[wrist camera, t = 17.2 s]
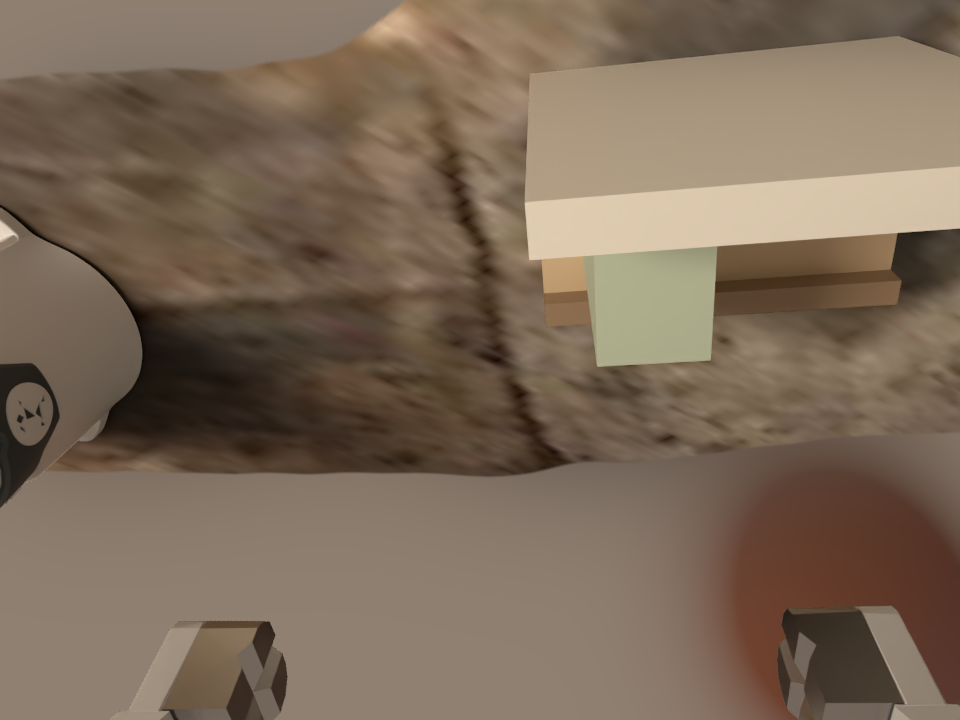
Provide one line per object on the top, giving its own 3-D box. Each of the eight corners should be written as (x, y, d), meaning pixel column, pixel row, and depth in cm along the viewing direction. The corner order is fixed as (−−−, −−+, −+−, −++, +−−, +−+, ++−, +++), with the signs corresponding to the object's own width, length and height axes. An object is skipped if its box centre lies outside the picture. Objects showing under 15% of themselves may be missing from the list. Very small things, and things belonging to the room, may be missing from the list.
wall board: (544, 287, 49) (550, 518, 31) (530, 73, 43) (524, 202, 24) (861, 265, 47) (1075, 499, 28) (898, 36, 40) (1214, 145, 22)
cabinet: (583, 277, 45) (597, 386, 34) (578, 141, 40) (592, 219, 30) (668, 271, 44) (709, 380, 34) (672, 132, 40) (719, 209, 30)
